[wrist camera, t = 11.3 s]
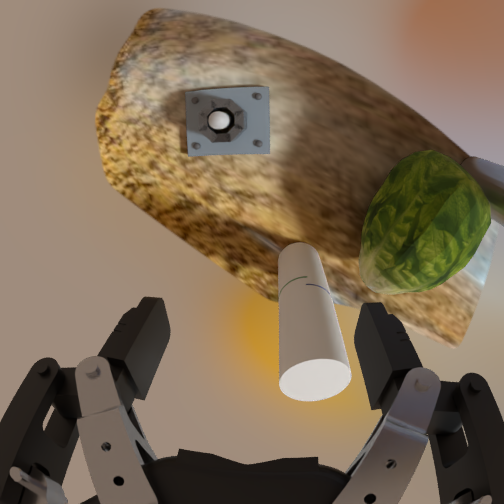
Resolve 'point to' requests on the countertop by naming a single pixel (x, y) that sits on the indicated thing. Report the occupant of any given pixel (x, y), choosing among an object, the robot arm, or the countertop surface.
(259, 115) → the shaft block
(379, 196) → the lettuce
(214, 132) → the collar
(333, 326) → the cylindrical container
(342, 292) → the countertop surface
